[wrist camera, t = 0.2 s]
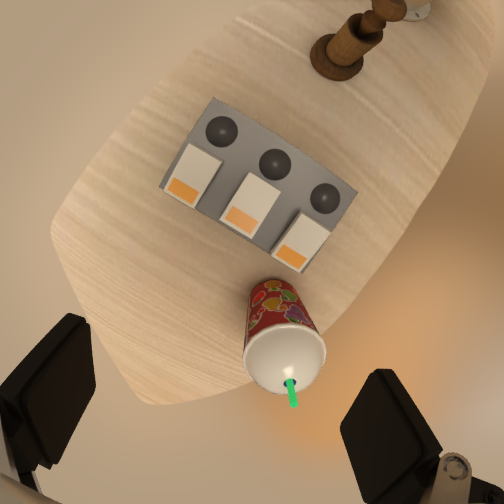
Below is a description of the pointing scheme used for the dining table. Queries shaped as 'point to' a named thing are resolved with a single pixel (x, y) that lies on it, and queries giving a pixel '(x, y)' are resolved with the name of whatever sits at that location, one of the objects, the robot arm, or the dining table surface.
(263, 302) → the smoothie
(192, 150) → the block
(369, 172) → the dining table surface
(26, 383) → the robot arm
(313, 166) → the power strip
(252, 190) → the block
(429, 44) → the dining table surface
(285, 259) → the rocker
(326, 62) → the mortar and pestle
